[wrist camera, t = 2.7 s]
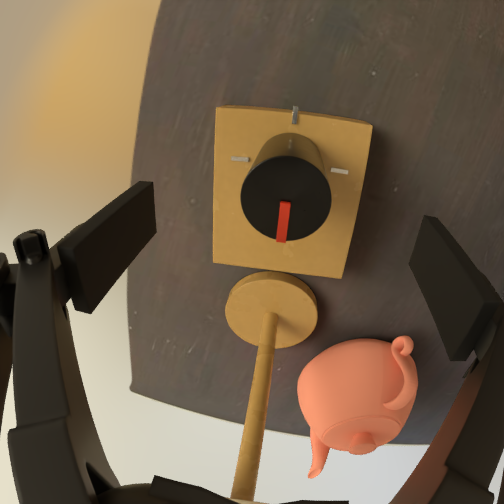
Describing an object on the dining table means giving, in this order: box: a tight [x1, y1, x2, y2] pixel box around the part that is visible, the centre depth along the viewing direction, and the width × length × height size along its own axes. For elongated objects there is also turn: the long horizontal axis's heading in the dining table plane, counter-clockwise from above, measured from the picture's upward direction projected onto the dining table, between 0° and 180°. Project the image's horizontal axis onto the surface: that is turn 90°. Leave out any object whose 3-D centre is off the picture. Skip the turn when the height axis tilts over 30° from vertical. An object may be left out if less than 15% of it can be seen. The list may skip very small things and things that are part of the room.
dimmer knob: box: [240, 133, 332, 243], centre depth 20 cm, size 5×5×8 cm
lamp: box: [225, 271, 318, 504], centre depth 21 cm, size 12×12×33 cm
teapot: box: [297, 335, 418, 478], centre depth 34 cm, size 22×16×12 cm
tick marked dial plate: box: [213, 105, 373, 279], centre depth 27 cm, size 15×12×3 cm
